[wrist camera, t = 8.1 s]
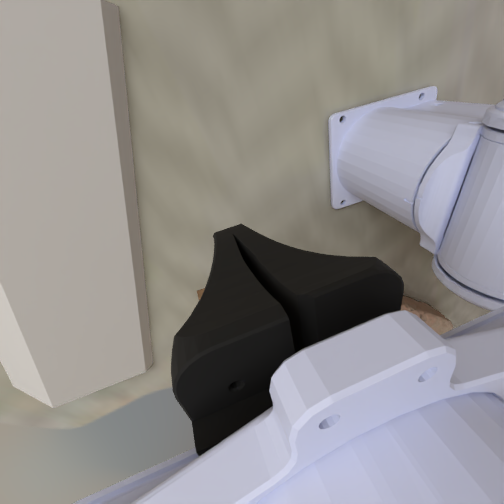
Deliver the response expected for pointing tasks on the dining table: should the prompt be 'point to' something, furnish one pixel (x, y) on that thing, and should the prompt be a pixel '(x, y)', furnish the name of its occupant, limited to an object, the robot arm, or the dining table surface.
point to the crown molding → (68, 203)
